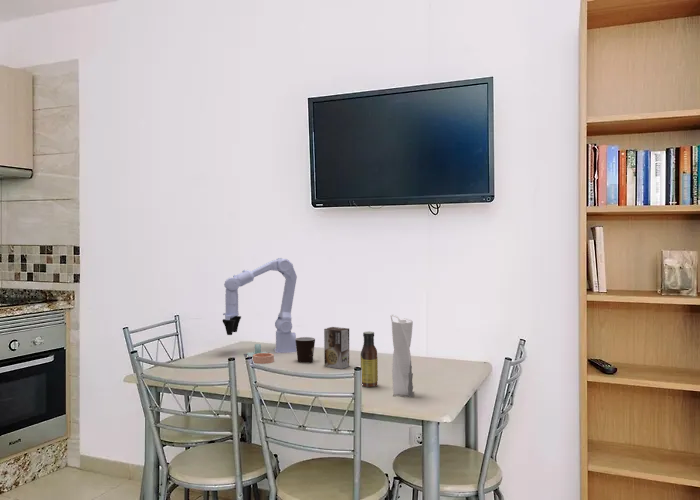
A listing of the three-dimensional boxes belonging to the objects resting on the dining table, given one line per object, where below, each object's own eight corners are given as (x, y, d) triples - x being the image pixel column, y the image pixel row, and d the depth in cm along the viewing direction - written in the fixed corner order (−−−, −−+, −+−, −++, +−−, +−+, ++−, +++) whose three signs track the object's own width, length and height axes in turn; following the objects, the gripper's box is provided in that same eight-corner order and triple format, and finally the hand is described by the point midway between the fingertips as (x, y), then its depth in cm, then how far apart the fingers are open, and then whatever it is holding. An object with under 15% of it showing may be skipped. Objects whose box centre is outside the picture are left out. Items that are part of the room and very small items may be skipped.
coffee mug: (306, 364, 249) (306, 341, 249) (291, 362, 254) (291, 339, 254) (323, 360, 259) (323, 337, 258) (308, 357, 264) (308, 335, 263)
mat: (269, 353, 273) (269, 352, 273) (272, 358, 261) (272, 357, 261) (243, 354, 270) (243, 353, 270) (245, 359, 258) (245, 359, 258)
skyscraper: (388, 396, 202) (389, 316, 201) (391, 390, 210) (391, 313, 209) (412, 398, 201) (413, 317, 200) (414, 391, 209) (415, 313, 208)
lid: (266, 353, 271) (266, 342, 271) (269, 357, 262) (269, 345, 262) (246, 354, 269) (246, 343, 269) (248, 358, 260) (248, 346, 260)
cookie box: (350, 366, 247) (350, 328, 246) (341, 369, 241) (341, 330, 241) (332, 363, 252) (332, 326, 251) (323, 366, 246) (323, 328, 246)
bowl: (272, 359, 260) (272, 352, 260) (275, 363, 251) (275, 356, 251) (251, 360, 257) (251, 353, 257) (253, 364, 249) (253, 357, 249)
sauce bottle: (367, 382, 220) (368, 330, 220) (381, 385, 216) (381, 331, 216) (356, 385, 215) (357, 332, 215) (370, 388, 211) (370, 334, 211)
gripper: (228, 302, 275) (228, 330, 276) (218, 305, 261) (218, 336, 261) (242, 302, 275) (242, 330, 275) (233, 306, 260) (234, 336, 261)
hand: (232, 333), depth 268 cm, fingers open, 7 cm apart
